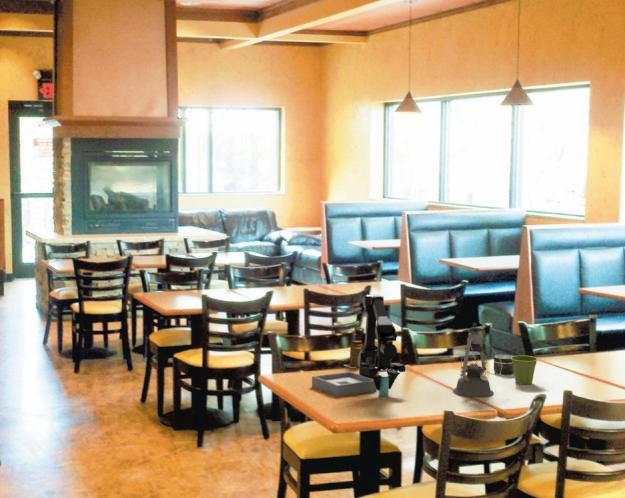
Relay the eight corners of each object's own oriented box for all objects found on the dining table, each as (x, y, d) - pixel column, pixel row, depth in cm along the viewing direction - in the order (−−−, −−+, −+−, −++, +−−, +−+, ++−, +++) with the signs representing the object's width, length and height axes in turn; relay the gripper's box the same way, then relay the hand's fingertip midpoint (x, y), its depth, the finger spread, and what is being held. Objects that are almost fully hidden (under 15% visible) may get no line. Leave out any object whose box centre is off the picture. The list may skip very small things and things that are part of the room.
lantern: (496, 400, 403) (498, 328, 400) (448, 395, 410) (450, 325, 407) (503, 390, 419) (505, 321, 417) (457, 386, 426) (459, 318, 424)
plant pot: (510, 379, 441) (510, 354, 440) (536, 380, 439) (537, 356, 438) (509, 385, 430) (510, 360, 428) (537, 386, 427) (538, 361, 426)
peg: (384, 393, 411) (385, 375, 411) (390, 395, 408) (390, 377, 407) (377, 395, 409) (377, 376, 409) (382, 397, 406) (382, 378, 405)
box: (350, 381, 433) (350, 371, 433) (376, 390, 416) (376, 380, 416) (312, 386, 423) (312, 376, 422) (337, 396, 406) (337, 385, 406)
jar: (518, 372, 456) (518, 356, 456) (510, 376, 448) (510, 359, 447) (498, 369, 462) (498, 353, 461) (490, 373, 453) (490, 357, 452)
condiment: (366, 366, 465) (366, 341, 464) (351, 368, 461) (352, 343, 459) (357, 363, 471) (357, 339, 470) (343, 365, 467) (343, 340, 465)
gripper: (391, 347, 419) (390, 383, 420) (355, 351, 409) (354, 388, 410) (406, 352, 409) (406, 388, 411) (370, 356, 399) (369, 393, 401)
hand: (383, 389), depth 408 cm, fingers open, 6 cm apart
